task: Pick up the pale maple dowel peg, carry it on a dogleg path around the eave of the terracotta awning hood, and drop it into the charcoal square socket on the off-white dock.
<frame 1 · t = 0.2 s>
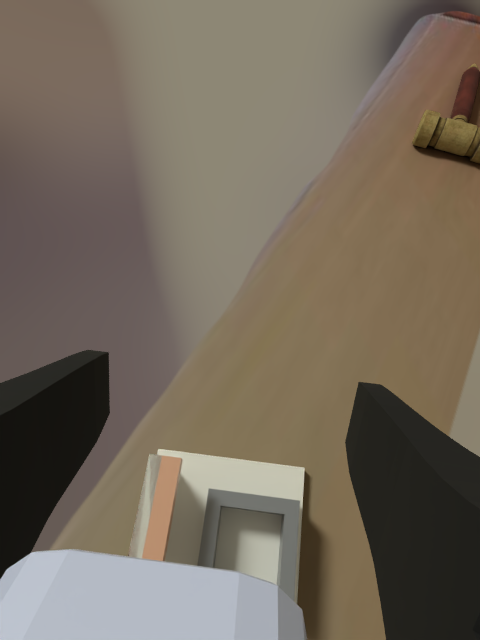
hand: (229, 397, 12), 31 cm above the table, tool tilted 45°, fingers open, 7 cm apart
gavel: (457, 115, 63), on the table
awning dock: (220, 540, 38), on the table
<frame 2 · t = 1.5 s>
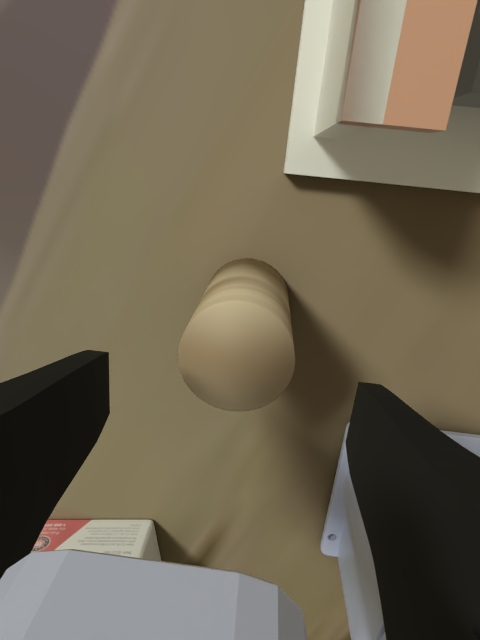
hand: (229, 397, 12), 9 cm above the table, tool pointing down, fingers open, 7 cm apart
maple peg: (247, 298, 21), on the table
ink cartridge box: (99, 543, 28), on the table
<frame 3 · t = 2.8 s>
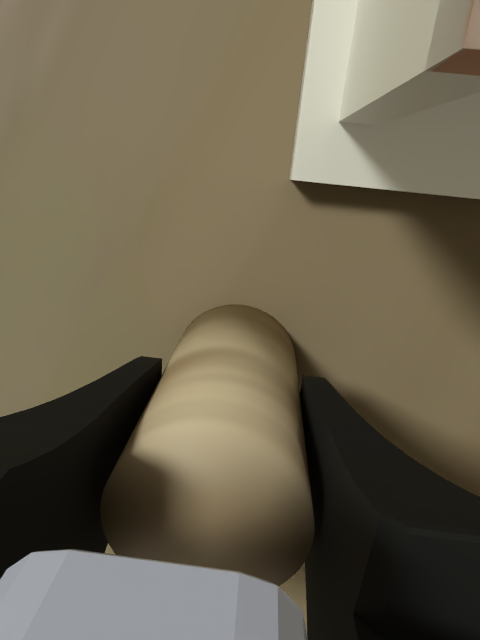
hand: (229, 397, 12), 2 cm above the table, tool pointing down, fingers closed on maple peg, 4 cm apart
maple peg: (236, 360, 14), on the table, touching gripper
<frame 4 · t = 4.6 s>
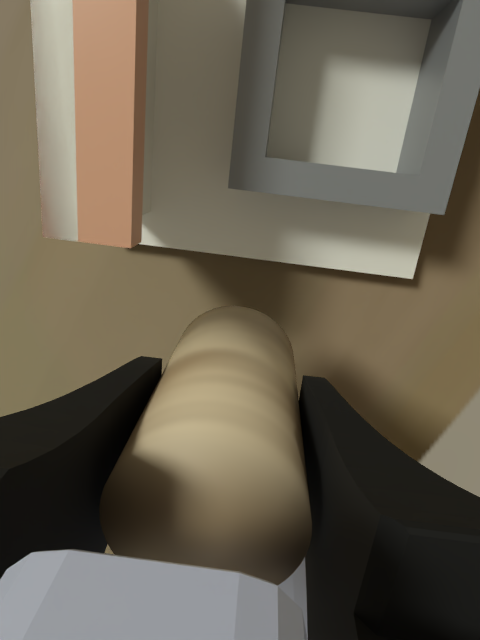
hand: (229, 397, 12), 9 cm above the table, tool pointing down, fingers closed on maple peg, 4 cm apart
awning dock: (280, 89, 18), on the table
maple peg: (234, 361, 14), point 7 cm above the table, touching gripper
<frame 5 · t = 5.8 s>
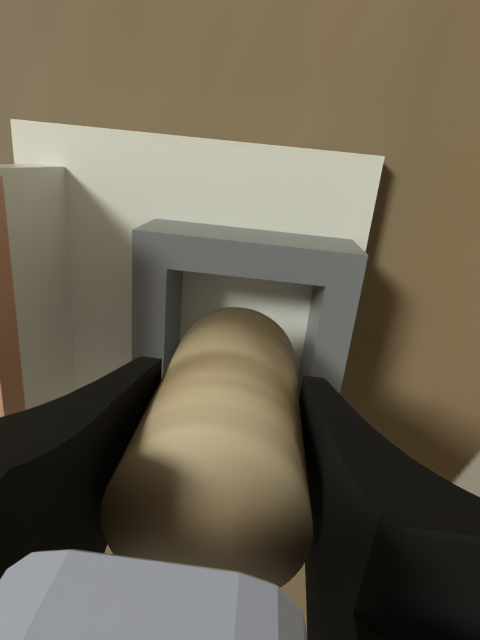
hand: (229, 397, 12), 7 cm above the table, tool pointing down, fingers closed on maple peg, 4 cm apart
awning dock: (189, 306, 19), on the table
maple peg: (235, 362, 14), point 5 cm above the table, touching gripper
when the fingers open (5 cm above the table, at t = 6.5 s): maple peg drops 2 cm, resting on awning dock.
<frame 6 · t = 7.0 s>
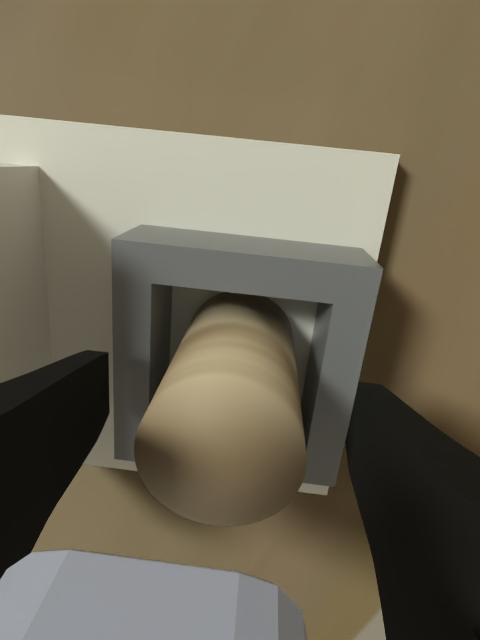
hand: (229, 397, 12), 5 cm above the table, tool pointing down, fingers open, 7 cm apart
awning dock: (181, 321, 17), on the table
maple peg: (240, 339, 16), point 1 cm above the table, touching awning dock
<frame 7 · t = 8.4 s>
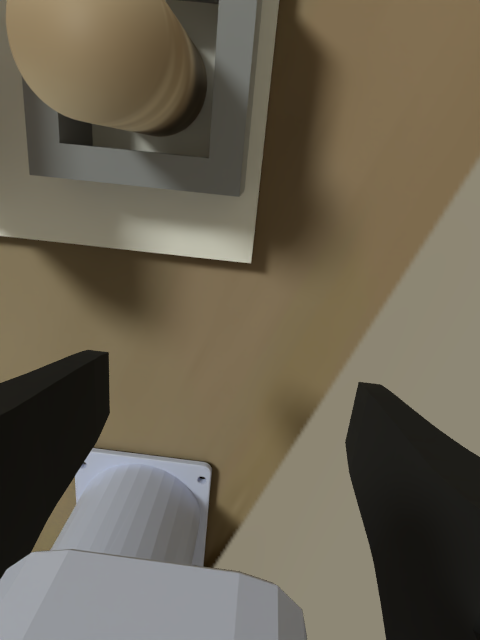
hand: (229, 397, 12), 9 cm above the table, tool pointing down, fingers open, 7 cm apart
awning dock: (104, 78, 18), on the table
maple peg: (157, 82, 17), point 1 cm above the table, touching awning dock
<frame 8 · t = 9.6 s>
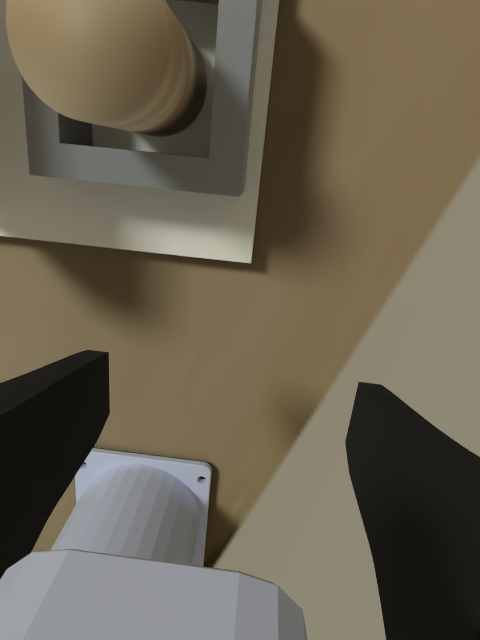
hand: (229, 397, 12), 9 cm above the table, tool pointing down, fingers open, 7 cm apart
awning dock: (104, 78, 18), on the table
maple peg: (157, 82, 17), point 1 cm above the table, touching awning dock
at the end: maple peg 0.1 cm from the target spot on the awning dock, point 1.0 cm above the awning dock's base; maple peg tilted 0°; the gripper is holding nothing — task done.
